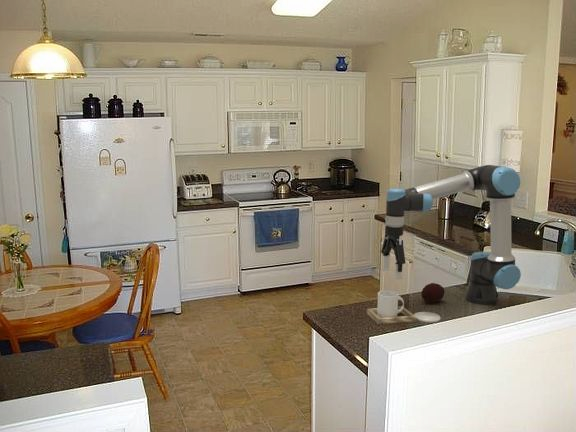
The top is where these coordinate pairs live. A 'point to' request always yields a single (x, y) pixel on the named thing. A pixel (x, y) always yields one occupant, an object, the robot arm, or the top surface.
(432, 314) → the plate
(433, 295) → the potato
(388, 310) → the mug
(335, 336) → the top surface
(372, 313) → the wooden picture frame
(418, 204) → the robot arm
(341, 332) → the top surface
